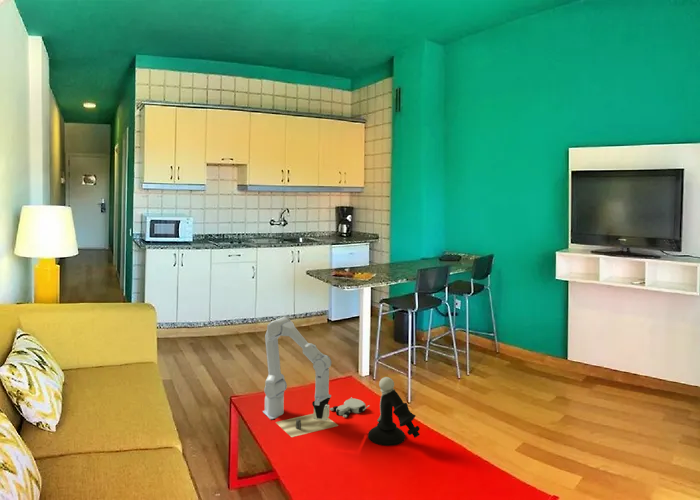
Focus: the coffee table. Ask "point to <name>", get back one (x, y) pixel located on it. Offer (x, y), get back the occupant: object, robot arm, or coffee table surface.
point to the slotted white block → (325, 413)
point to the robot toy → (350, 407)
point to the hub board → (304, 425)
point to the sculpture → (386, 428)
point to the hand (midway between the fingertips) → (321, 415)
